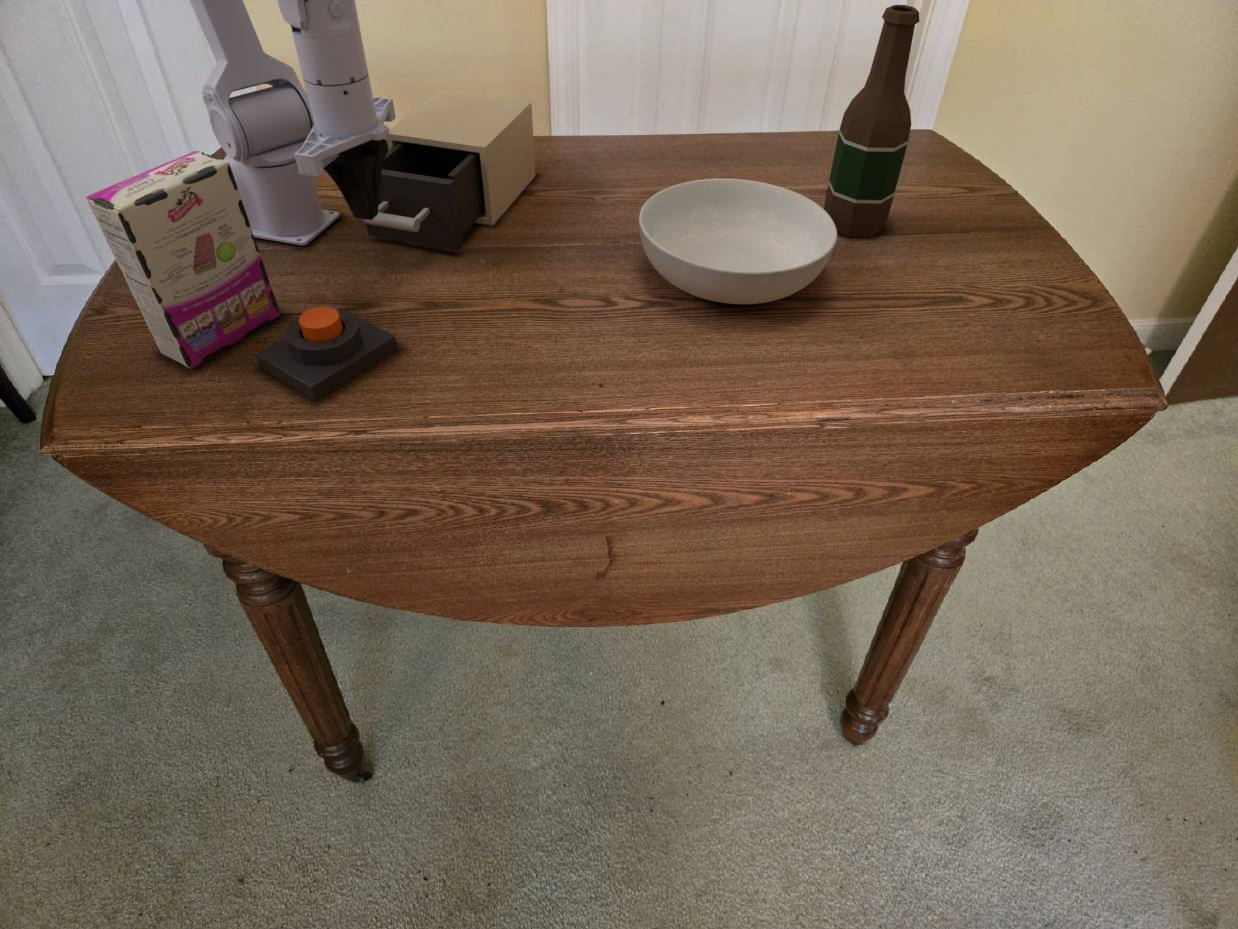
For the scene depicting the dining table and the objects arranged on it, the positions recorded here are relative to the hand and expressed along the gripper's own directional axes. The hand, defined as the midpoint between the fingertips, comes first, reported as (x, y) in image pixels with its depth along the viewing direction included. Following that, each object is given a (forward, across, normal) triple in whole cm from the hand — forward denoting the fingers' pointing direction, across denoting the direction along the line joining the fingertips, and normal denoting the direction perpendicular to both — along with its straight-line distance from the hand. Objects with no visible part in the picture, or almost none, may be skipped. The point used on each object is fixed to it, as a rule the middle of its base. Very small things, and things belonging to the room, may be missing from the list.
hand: (365, 215), depth 83 cm
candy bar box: (+8, -13, +10) cm, 19 cm away
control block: (+8, -14, -2) cm, 16 cm away
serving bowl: (+8, +14, -36) cm, 39 cm away
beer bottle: (+8, +30, -48) cm, 57 cm away
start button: (+5, -14, -2) cm, 15 cm away
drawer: (+7, +13, 0) cm, 15 cm away
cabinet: (+8, +24, 0) cm, 25 cm away
